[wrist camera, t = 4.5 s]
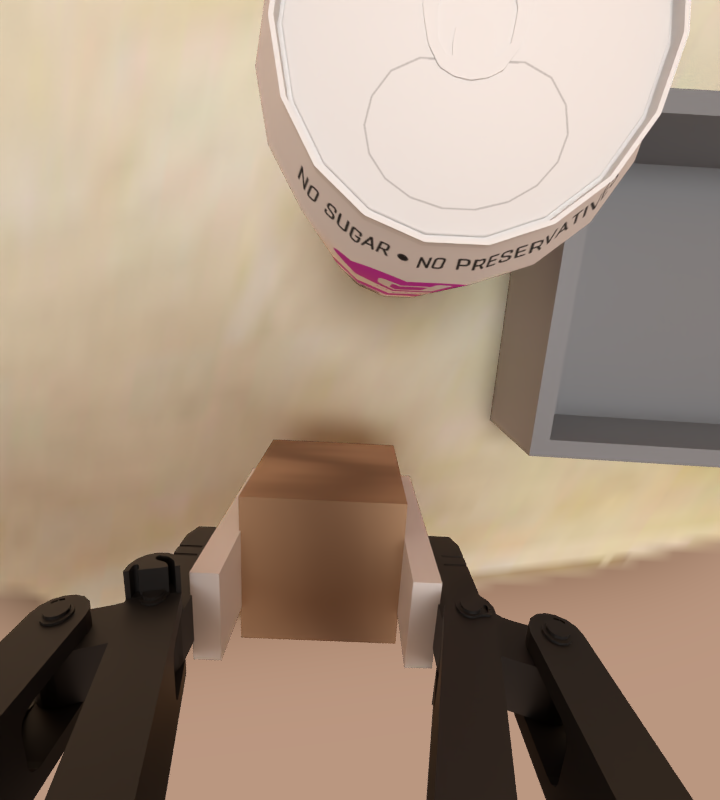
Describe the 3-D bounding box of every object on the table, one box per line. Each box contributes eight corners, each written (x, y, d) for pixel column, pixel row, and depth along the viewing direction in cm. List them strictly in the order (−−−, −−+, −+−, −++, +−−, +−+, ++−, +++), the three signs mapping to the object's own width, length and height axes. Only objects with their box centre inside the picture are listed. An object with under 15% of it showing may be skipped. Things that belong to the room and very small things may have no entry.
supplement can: (470, 300, 22) (671, 288, 8) (322, 293, 22) (236, 267, 8) (487, 136, 20) (801, -305, 6) (325, 128, 20) (222, -328, 6)
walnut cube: (273, 545, 18) (241, 637, 13) (273, 439, 17) (238, 496, 12) (385, 550, 18) (395, 643, 13) (393, 445, 17) (407, 504, 12)
